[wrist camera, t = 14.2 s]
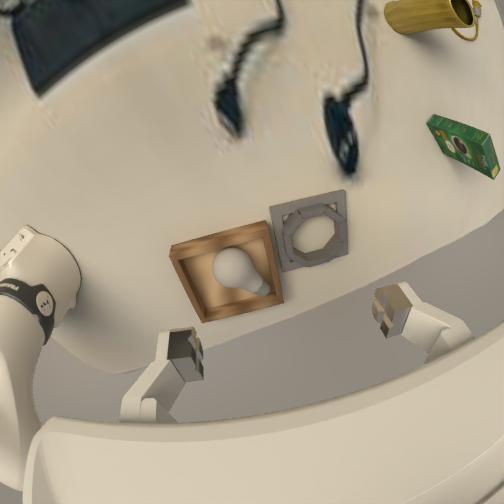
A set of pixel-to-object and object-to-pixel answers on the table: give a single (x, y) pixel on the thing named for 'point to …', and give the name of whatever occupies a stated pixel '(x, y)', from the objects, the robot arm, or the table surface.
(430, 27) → the vase
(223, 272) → the lightbulb
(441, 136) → the coffee box
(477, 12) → the extension cord
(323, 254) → the socket
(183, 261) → the tray
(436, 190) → the table surface
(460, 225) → the table surface
